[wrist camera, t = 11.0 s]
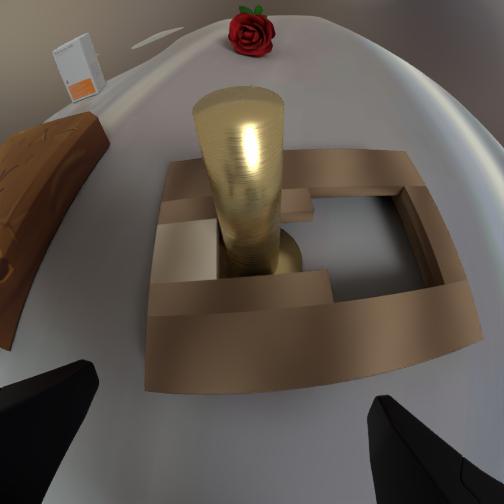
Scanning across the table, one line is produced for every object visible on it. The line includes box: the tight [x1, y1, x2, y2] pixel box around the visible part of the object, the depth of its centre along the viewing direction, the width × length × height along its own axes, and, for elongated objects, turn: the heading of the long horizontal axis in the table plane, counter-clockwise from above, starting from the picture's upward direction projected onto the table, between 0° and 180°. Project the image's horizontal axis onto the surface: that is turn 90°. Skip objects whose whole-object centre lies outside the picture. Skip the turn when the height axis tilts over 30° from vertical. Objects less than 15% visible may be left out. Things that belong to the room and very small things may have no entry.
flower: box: [228, 5, 275, 57], centre depth 39 cm, size 9×10×30 cm
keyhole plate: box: [145, 149, 483, 394], centre depth 16 cm, size 18×15×3 cm
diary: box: [0, 112, 110, 351], centre depth 19 cm, size 23×19×6 cm
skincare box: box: [52, 33, 106, 103], centre depth 31 cm, size 6×4×12 cm
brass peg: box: [192, 86, 302, 279], centre depth 12 cm, size 6×6×11 cm
